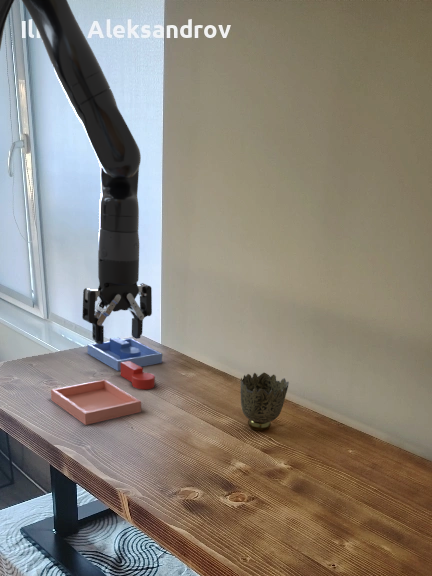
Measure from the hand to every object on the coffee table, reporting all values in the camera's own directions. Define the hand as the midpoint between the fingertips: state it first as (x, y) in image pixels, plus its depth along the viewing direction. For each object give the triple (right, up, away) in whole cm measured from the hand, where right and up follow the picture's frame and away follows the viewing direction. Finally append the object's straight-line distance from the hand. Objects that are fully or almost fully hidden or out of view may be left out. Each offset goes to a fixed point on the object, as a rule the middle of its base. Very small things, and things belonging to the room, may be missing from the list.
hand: (117, 340), depth 124 cm
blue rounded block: (+1, -3, 0) cm, 3 cm away
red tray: (0, -16, -22) cm, 27 cm away
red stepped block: (+5, -10, -11) cm, 15 cm away
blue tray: (+1, -4, 0) cm, 4 cm away
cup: (+26, -19, -24) cm, 40 cm away
